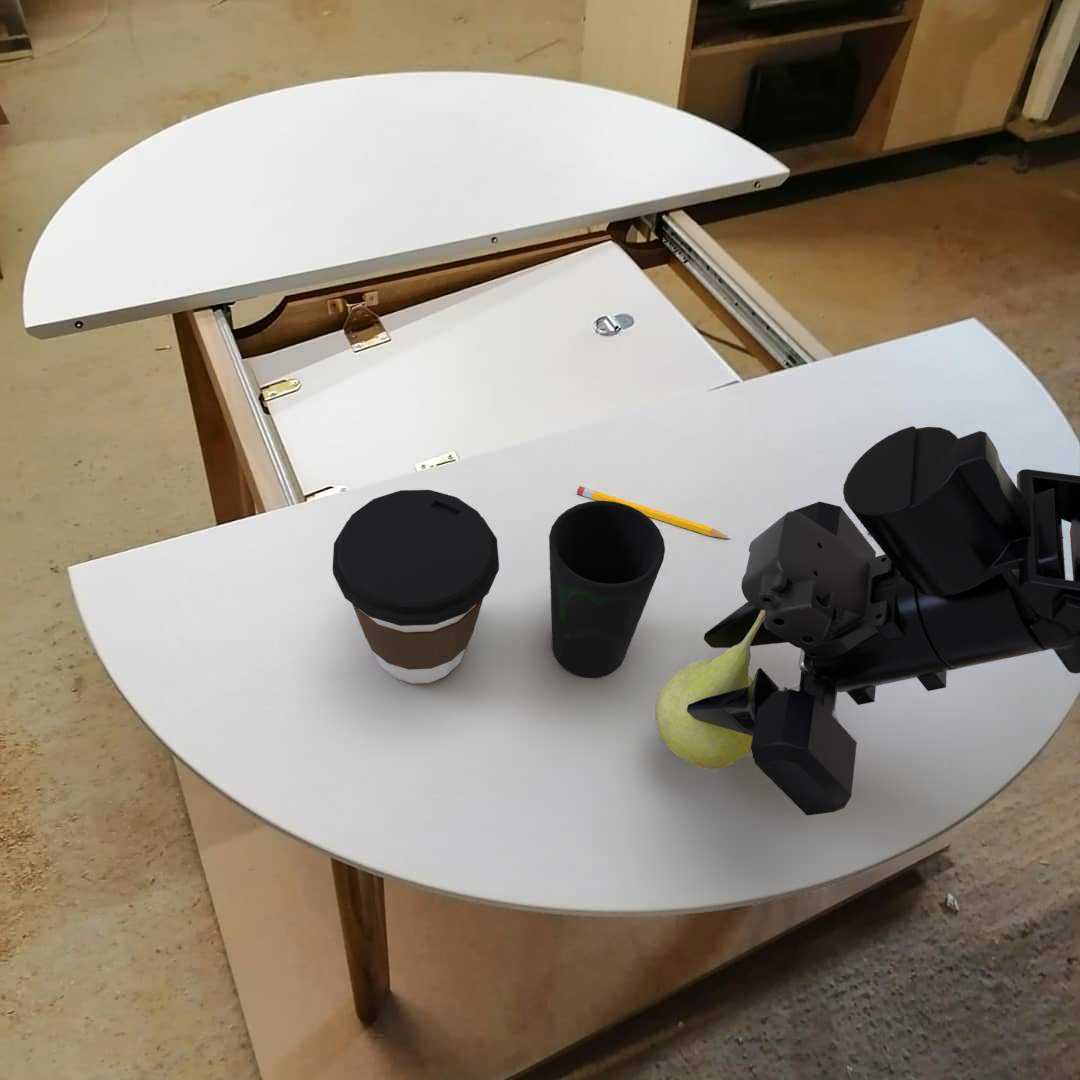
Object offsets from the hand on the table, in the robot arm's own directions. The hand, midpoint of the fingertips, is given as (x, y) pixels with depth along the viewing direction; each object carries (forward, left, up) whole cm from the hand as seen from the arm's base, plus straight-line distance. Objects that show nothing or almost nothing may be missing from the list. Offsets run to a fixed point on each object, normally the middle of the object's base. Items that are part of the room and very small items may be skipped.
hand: (699, 675), depth 63 cm
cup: (+9, -5, -9) cm, 14 cm away
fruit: (-1, 0, -7) cm, 7 cm away
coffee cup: (+20, +1, -9) cm, 22 cm away
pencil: (+9, -20, -10) cm, 24 cm away
